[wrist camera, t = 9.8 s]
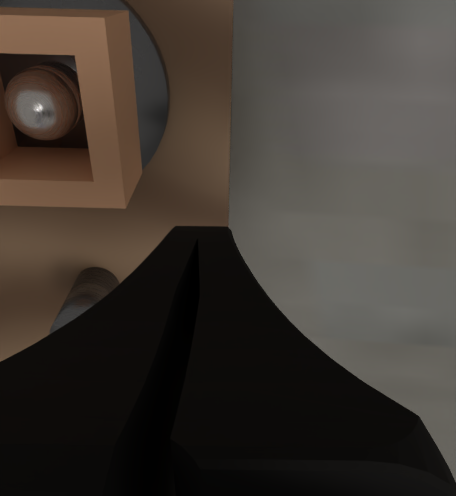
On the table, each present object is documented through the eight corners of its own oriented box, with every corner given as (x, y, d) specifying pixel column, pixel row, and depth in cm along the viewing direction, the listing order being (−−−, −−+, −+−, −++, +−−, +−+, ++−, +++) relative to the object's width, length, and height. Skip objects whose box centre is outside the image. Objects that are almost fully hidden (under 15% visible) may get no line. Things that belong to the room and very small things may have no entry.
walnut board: (225, 351, 24) (225, 371, 23) (12, 346, 24) (0, 367, 23) (235, -100, 14) (235, -107, 13) (-139, -108, 14) (-177, -117, 13)
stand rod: (122, 301, 21) (103, 356, 18) (80, 301, 21) (54, 355, 18) (117, 267, 20) (96, 318, 17) (73, 266, 20) (44, 317, 17)
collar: (142, 172, 16) (125, 208, 14) (-1, 169, 16) (-44, 204, 14) (128, 10, 14) (104, 17, 11) (-45, 5, 13) (-110, 11, 11)
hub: (174, 189, 18) (164, 228, 15) (-13, 185, 18) (-57, 223, 15) (164, -33, 14) (147, -36, 11) (-78, -39, 14) (-156, -43, 11)
